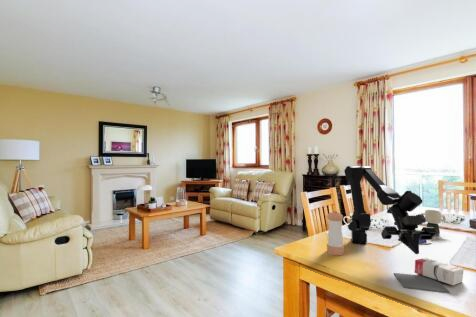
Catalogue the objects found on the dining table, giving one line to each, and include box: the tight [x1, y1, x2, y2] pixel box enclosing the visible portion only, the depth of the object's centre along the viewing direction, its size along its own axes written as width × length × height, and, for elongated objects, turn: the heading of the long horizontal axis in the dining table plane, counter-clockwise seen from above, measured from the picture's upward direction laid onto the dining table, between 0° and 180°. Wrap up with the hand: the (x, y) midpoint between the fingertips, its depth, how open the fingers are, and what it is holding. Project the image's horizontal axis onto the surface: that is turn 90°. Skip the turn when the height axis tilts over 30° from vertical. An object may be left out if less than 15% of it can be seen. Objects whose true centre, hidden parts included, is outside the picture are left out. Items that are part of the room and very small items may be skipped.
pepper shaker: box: [326, 210, 345, 256], centre depth 118 cm, size 7×7×19 cm
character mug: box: [420, 209, 446, 235], centre depth 145 cm, size 11×7×13 cm, turn 49°
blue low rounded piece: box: [419, 238, 433, 245], centre depth 134 cm, size 12×12×5 cm
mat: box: [393, 272, 450, 294], centre depth 89 cm, size 13×10×1 cm
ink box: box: [414, 257, 464, 286], centre depth 92 cm, size 8×5×12 cm
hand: (417, 253), depth 96 cm, fingers closed
